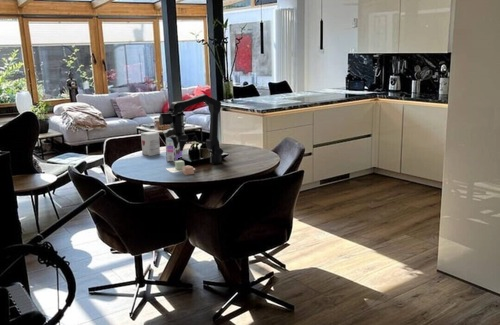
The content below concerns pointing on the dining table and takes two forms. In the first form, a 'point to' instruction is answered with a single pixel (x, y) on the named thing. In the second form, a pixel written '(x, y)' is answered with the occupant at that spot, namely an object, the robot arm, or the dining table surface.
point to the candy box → (172, 151)
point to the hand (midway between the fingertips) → (178, 149)
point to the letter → (173, 170)
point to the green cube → (179, 164)
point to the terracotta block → (188, 170)
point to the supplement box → (150, 143)
